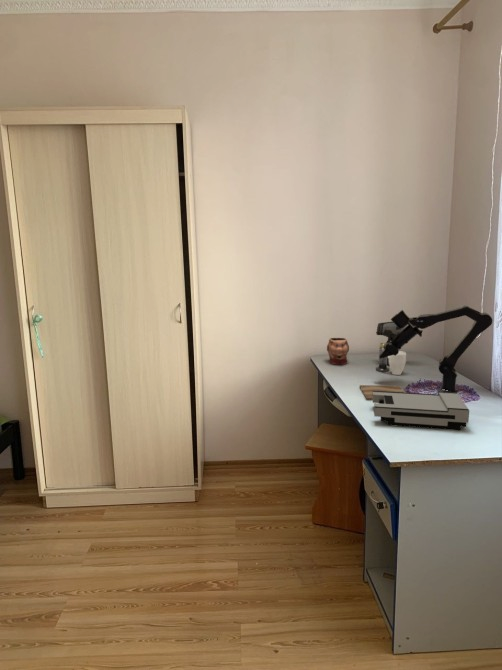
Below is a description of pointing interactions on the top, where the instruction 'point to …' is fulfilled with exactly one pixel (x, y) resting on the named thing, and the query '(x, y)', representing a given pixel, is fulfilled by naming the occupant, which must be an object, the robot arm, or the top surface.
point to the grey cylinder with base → (382, 360)
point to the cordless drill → (392, 327)
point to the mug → (397, 362)
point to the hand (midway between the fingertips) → (380, 356)
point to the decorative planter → (338, 350)
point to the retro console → (421, 409)
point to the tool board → (369, 389)
